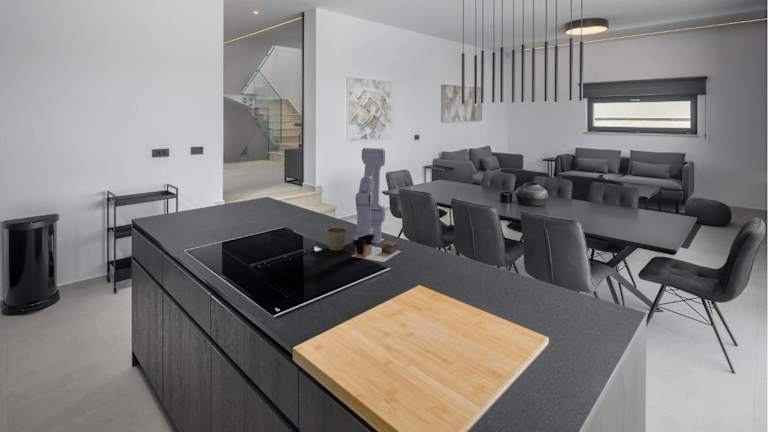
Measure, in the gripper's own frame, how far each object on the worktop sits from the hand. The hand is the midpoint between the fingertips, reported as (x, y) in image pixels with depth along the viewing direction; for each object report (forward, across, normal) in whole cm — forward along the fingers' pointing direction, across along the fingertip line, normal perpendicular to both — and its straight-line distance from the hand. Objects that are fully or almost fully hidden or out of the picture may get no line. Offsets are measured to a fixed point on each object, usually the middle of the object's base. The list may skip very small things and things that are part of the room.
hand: (363, 252), depth 179 cm
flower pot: (+2, +2, +15) cm, 15 cm away
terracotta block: (+1, 0, 0) cm, 1 cm away
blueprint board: (+1, +4, -4) cm, 6 cm away
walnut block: (+1, +10, -8) cm, 12 cm away
